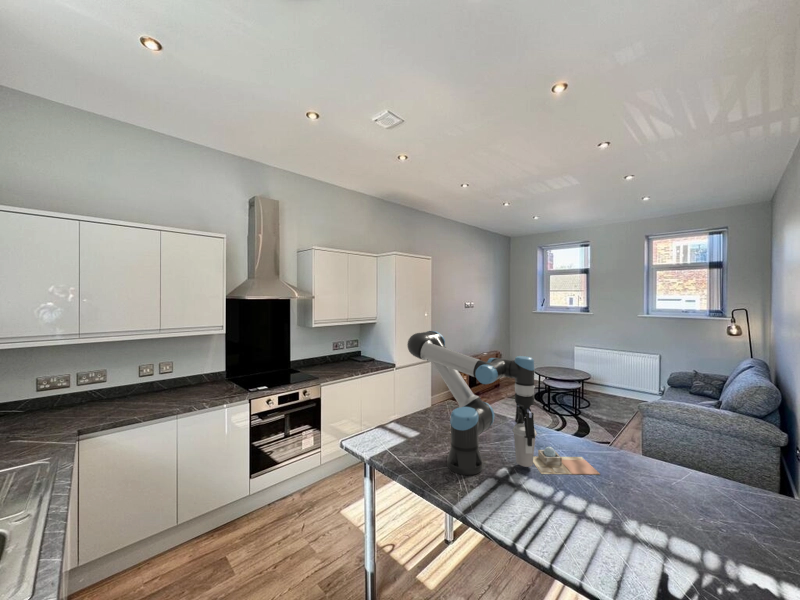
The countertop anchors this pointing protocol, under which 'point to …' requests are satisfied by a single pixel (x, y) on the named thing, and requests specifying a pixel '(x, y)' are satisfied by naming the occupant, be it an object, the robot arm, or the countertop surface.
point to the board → (563, 465)
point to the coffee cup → (522, 446)
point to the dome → (549, 452)
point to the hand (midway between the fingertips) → (524, 447)
